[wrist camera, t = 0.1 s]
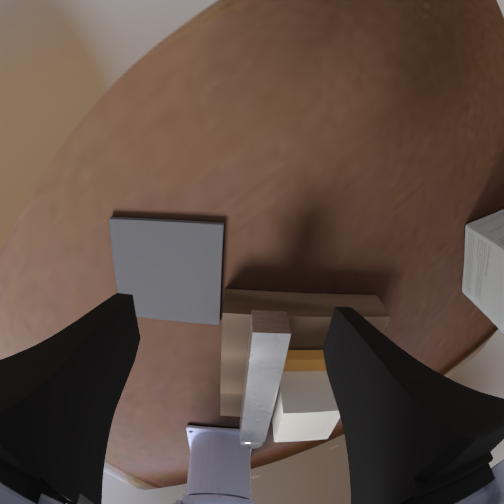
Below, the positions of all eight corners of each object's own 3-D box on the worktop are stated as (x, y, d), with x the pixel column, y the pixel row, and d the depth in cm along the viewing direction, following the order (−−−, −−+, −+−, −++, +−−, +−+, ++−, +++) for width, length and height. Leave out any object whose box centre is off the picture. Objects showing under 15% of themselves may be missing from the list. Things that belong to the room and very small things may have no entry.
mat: (219, 320, 22) (219, 324, 22) (123, 311, 22) (121, 314, 21) (224, 222, 19) (223, 224, 18) (111, 216, 18) (108, 218, 18)
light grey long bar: (260, 418, 23) (262, 449, 20) (238, 417, 23) (238, 448, 20) (283, 298, 18) (291, 333, 15) (251, 296, 18) (252, 332, 14)
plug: (319, 374, 25) (337, 444, 18) (252, 374, 25) (255, 448, 18) (336, 322, 23) (366, 397, 15) (259, 320, 22) (266, 402, 15)
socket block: (338, 391, 27) (345, 413, 24) (221, 391, 26) (220, 415, 23) (376, 295, 22) (391, 316, 19) (224, 288, 21) (222, 312, 18)
